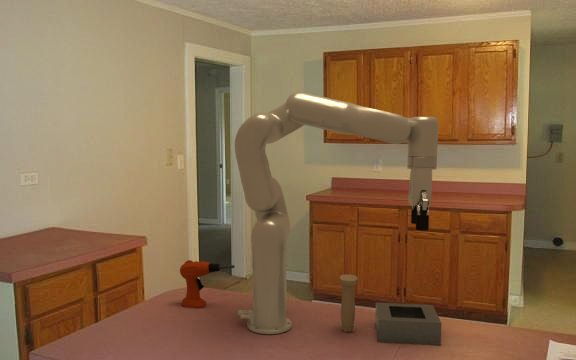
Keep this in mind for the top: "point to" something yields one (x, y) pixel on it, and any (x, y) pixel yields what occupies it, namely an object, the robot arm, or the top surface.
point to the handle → (348, 302)
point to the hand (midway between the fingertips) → (419, 226)
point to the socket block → (407, 324)
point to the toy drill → (197, 280)
